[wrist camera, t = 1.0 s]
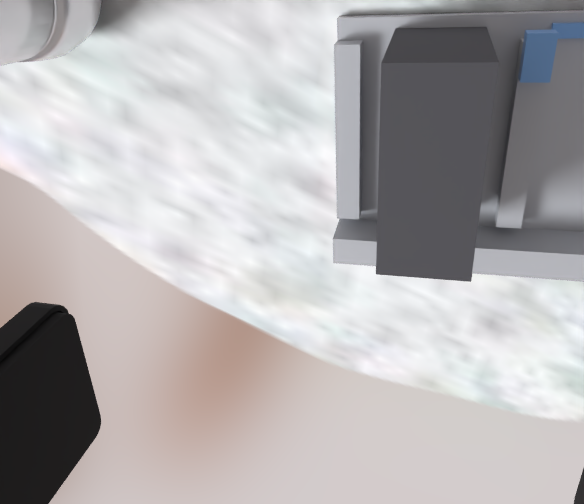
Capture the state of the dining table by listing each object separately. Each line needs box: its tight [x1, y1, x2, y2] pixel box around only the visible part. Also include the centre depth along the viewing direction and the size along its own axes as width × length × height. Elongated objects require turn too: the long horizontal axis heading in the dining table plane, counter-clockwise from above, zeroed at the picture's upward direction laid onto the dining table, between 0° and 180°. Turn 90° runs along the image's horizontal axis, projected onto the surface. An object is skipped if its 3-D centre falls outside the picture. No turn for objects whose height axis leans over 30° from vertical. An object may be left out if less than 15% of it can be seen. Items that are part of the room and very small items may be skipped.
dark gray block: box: [376, 27, 499, 282], centre depth 25 cm, size 9×4×7 cm, turn 4°
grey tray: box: [333, 10, 584, 282], centre depth 26 cm, size 12×18×3 cm, turn 94°
